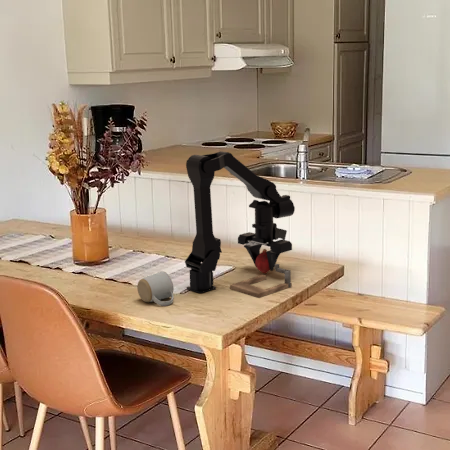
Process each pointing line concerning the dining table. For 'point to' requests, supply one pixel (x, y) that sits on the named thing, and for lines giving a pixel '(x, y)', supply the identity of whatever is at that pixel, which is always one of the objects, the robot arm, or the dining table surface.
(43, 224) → the dining table surface
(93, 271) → the dining table surface
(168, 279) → the ceramic mug
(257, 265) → the onion
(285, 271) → the walnut board
